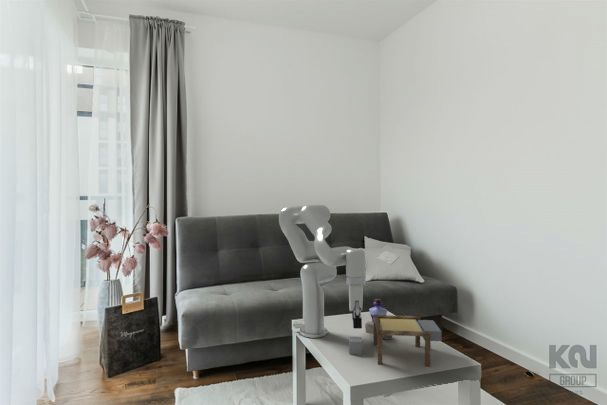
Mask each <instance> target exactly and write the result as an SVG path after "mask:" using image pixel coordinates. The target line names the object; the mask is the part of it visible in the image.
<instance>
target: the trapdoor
mask: <svg viewBox="0 0 607 405" xmlns="http://www.w3.org/2000/svg"><path fill="white" fill-rule="evenodd" d="M380 323H381V326H382V330H391V331H421V332H430V333H431V342H442V332H443V331H442V330H441V328H440V327H439V326H438V325H437V324H436V322H435V321H434V320H433V319H431V320H429V319H420V320H418V323H417V321H416V320H415V319H380ZM421 337H422V339H423V340H424V341H425V337H423V336H421Z"/></svg>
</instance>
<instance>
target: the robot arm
mask: <svg viewBox="0 0 607 405" xmlns="http://www.w3.org/2000/svg"><path fill="white" fill-rule="evenodd" d="M330 219H331V210H330V209H329V208H328V206H327V205H325V204H308V205H300V206H299V205H297V206H296V205H295V206H294V205H293V206H286V207H284V208H282V209H281V210H280V211H279V214H278V224H279V227H280V229H281V231H282V234H284V236H285V237H286V239H287V241H288V243H289V246H290V248H291V250H292V252H293V255H294V256H295V258H296V260H297V262H299V263H302V264H303V263H305V264H304V265H302V267H301V269H300V274H299V275H300V279H301V280H300V281H301V287H302V321H300V322H293V323H292V326H293V328H295V329H299V334H300V336H303V337H305V338H312V339H314V338H315V339H316V338H317V339H319V338H322V337H325V336H326V335H328V329H327V328H326V327H325V295H324V294H325V293H324V290H323V288H322V286H321V284H322V283H326V282H331V281H333V280H335V279H336V277H337V274H338V272H337V271H338V270H337V267H340V266H341V267H342V266H345V276H346V277H345V280H346V281H345V283H346V286H348V302H349V303H348V306H349V307H348V308H349V312H352V315H351V316H352V317H351V318H352V324H353V325H352V326H353V329H362V328H363V325H362V324H363V322H362V320H363V318H362V314H361V313H362V312H363V307H364V306H363V302H364V299H363V296H364V294H363V292H364V291H363V288H364V287H363V286H366V285H367V284H366V255H365V250H364V249H362V248H353V247H351V246H337V247H330V245H329V244H328V243H327V241H326V238H328V236H329V235H330V234H331V233H332V225H331V224H330V223H329V220H330ZM300 224H301V225H302V224H304V225H305V226H306V227H307V229H308V230H309V231H310V232H311V234H312V236H314V240H309V239H308V237H307V236H306V234H305V232H304V230H303V229H302V228H300V227H299V226H298V225H300Z"/></svg>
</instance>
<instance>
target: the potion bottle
mask: <svg viewBox="0 0 607 405" xmlns="http://www.w3.org/2000/svg"><path fill="white" fill-rule="evenodd" d="M382 306H384V303H383V301H382V299H381V298H375V299H374V300H373V307H371V308H369V315H370V317H371V322H373V315H387V313H388V311H387V308H383V307H382ZM379 322H380V319H379Z"/></svg>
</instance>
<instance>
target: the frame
mask: <svg viewBox="0 0 607 405" xmlns="http://www.w3.org/2000/svg"><path fill="white" fill-rule="evenodd" d="M379 319H415V320H416V321H417V323H418V320H421V317H420V316H419V315H417V316H416V315H415V316H414V315H387V314H386V315H373V334H372V335H373V341H372V342H373V343H372V344H373V346H377V365H383V338H382V335H393V337H394V336H397V337H398V336H399V337H402V336H403V337H415V338H414V339H415V340H414V341H415V342H414V343H415V344H414V345H415V347H416V348H421V337H422V336H423V337H425V340H424V365H425V367H427V368H428V367H432V366H431V364H432V363H431V360H432V359H431V357H432V355H431V353H432V352H431V349H432V348H431V346H432V345H431V342H432V341H431V333H430V332H421V331H391V330H382V329H381V326H380V322H379ZM423 337H422V338H423Z"/></svg>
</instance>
